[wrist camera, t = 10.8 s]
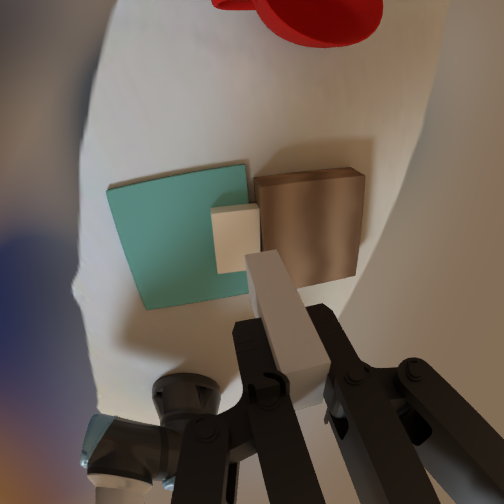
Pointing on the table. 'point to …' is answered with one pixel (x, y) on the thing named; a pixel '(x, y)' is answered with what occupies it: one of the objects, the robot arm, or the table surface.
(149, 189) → the mat
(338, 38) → the ceramic cup
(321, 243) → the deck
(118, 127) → the table surface
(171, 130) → the table surface
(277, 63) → the table surface
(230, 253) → the tile
